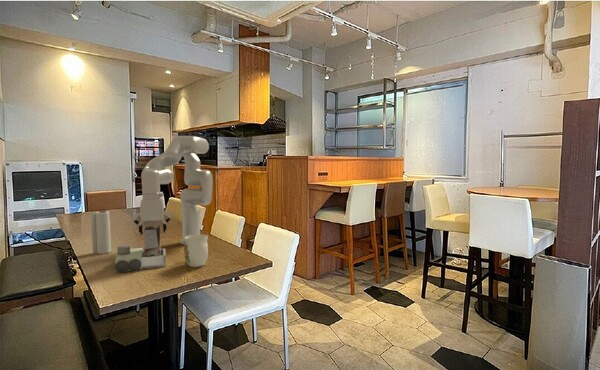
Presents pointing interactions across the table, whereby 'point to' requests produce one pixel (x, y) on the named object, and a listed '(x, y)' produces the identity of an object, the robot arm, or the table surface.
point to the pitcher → (196, 250)
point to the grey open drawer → (154, 260)
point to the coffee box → (152, 241)
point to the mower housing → (128, 259)
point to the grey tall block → (101, 232)
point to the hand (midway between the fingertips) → (153, 232)
